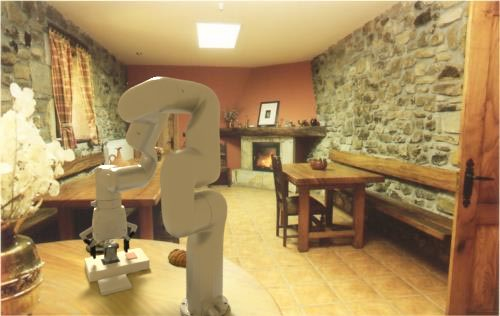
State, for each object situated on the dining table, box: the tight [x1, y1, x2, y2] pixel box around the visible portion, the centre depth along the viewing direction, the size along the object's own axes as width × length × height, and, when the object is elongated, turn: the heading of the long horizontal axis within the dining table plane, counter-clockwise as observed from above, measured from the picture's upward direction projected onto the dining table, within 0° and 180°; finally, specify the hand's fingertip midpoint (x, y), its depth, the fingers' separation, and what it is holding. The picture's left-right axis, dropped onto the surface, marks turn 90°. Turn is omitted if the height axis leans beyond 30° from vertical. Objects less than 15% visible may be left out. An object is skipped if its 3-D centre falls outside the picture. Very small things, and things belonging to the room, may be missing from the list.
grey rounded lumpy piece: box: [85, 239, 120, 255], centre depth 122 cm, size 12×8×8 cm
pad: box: [97, 274, 133, 297], centre depth 94 cm, size 8×8×1 cm
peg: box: [103, 244, 118, 265], centre depth 104 cm, size 4×4×8 cm
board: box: [84, 247, 150, 283], centre depth 106 cm, size 12×18×3 cm, turn 123°
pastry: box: [167, 248, 186, 267], centre depth 111 cm, size 9×7×4 cm
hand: (110, 254), depth 104 cm, fingers open, 9 cm apart
